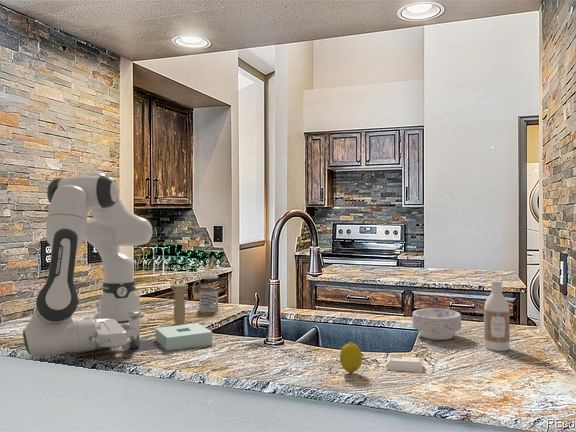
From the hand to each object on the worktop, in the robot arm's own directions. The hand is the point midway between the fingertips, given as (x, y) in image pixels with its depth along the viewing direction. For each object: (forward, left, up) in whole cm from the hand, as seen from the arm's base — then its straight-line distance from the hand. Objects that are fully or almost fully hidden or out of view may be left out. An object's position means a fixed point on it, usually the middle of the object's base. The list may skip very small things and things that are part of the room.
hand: (137, 328), depth 147 cm
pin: (0, -1, -6) cm, 6 cm away
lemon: (+50, +42, -6) cm, 66 cm away
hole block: (0, +14, -6) cm, 15 cm away
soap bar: (+53, +57, -7) cm, 78 cm away
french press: (-46, +38, -6) cm, 60 cm away
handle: (-21, +19, -6) cm, 29 cm away
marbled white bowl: (+34, +88, -6) cm, 94 cm away
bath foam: (+53, +93, -6) cm, 107 cm away
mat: (-2, +1, -6) cm, 6 cm away
